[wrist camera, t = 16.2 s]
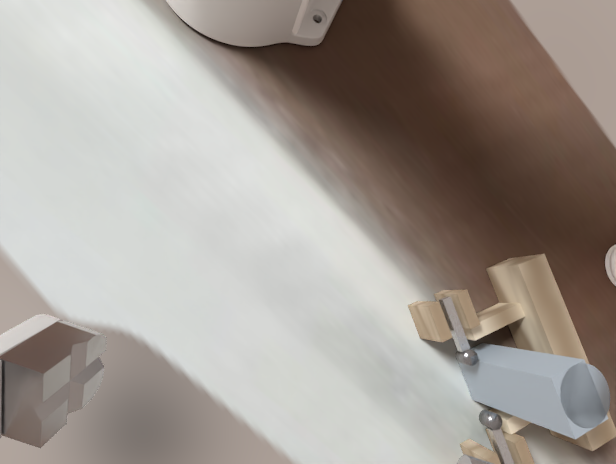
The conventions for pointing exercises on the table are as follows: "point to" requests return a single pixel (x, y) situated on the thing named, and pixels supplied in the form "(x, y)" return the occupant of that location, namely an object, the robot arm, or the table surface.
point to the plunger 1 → (458, 333)
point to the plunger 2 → (496, 435)
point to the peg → (539, 388)
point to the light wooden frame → (515, 338)
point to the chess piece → (611, 264)
